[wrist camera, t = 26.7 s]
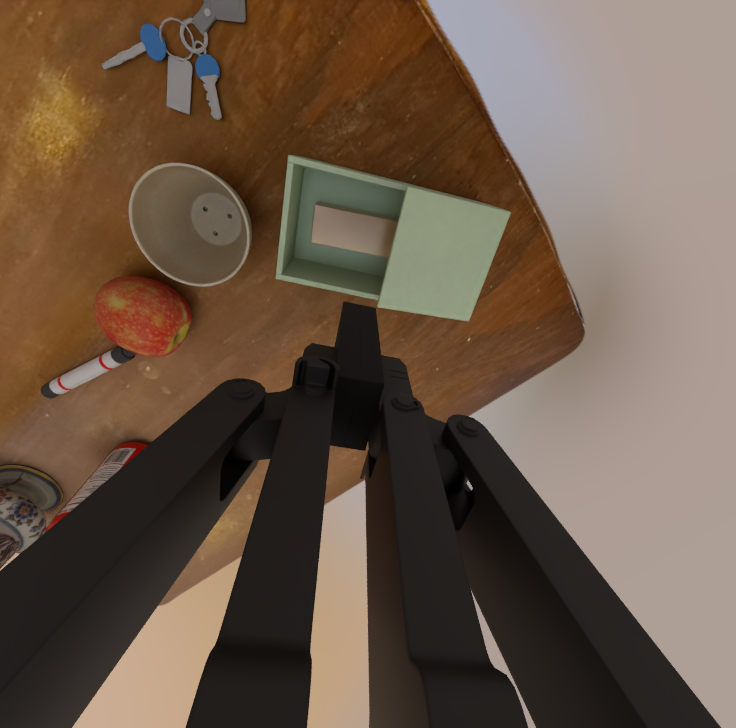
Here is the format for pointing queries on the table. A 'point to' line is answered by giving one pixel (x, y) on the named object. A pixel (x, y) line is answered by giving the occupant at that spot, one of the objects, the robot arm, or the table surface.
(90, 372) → the marker
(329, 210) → the birch block
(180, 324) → the apple
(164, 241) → the flower pot
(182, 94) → the key chain
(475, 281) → the flap
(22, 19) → the table surface
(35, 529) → the apothecary jar
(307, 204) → the carton
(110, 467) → the soda can
